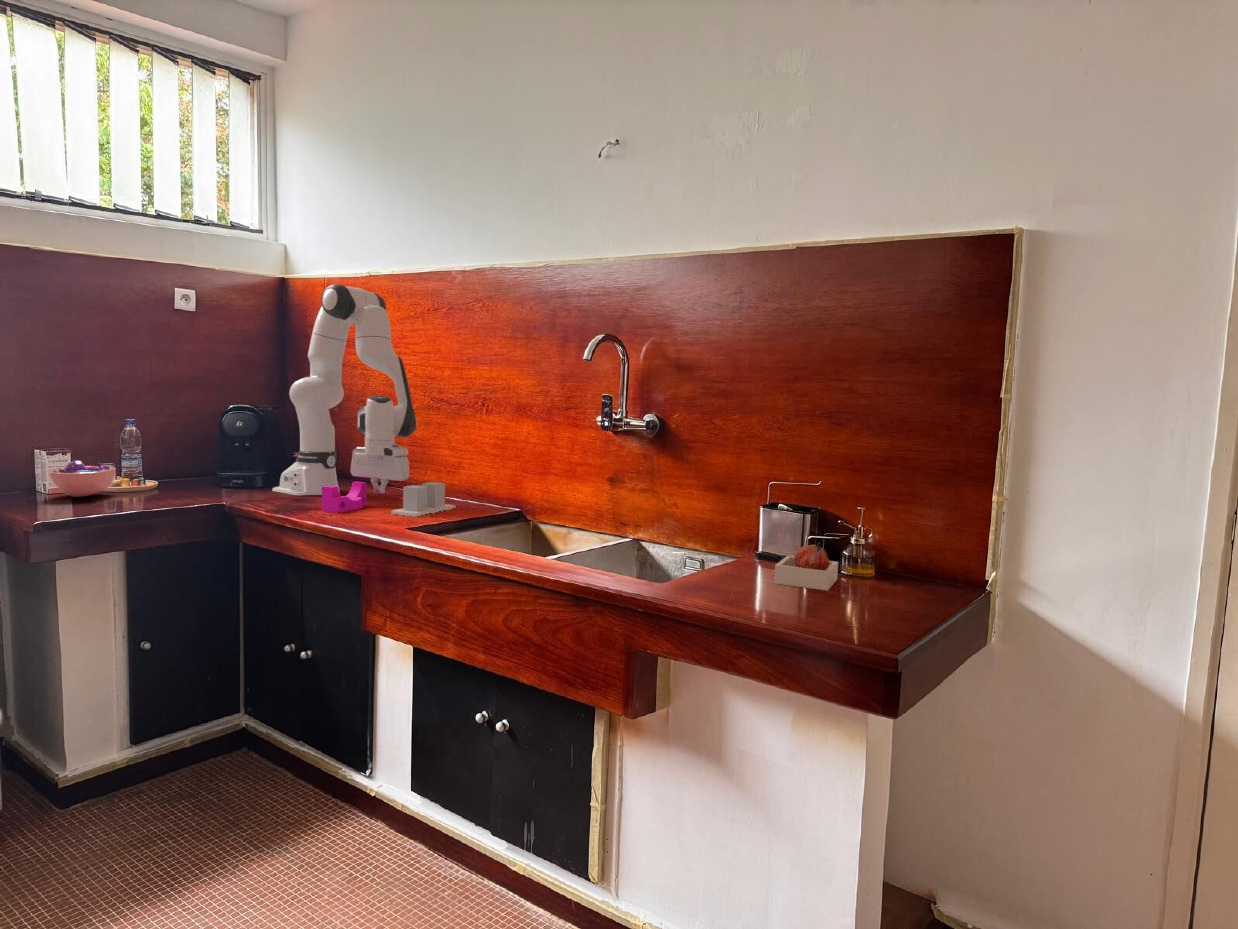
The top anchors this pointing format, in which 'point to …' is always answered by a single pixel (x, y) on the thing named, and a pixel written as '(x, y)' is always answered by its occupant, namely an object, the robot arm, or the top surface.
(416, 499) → the base
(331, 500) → the toy block
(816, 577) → the fruit dish
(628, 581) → the top surface
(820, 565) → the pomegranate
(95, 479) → the cell model
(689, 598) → the top surface
